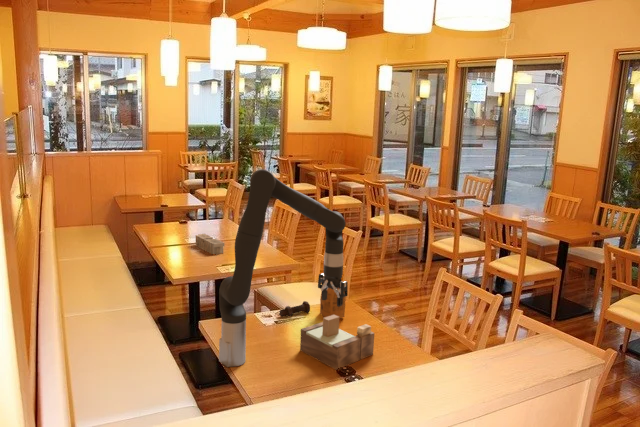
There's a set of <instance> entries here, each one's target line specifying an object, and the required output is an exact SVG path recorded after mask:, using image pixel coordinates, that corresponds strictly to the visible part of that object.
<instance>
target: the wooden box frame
mask: <svg viewBox="0 0 640 427" xmlns="http://www.w3.org/2000/svg"><path fill="white" fill-rule="evenodd" d="M322 326H323V321H322V322H318V323H315V324H313V325H309V326H305V327H303V328H300V342H299V344H300V345H299V349H300V351H301V352H303V353H305V354H306V355H308V356H310V357H311V358H314V359H315V360H316V361H319V362H321V363H323V364H324V365H327V366H329V367H330V368H332V369H333V370H339V369H341V368H340V367H342V368H344V367H346V366H349V365H351V364H353V363H356V362H358V361H361V360H362V359H365V358H367V357H370V356H372V355H374V350H375V349H374V347H375V332H373V331H371V333H370V334H367V335H365V336H360V335H358V334H356V335H354V336H355V337H353V338H350V339H347V340H345V341H342V342H339V343H336V344H334V345H333V347H331V346H329V345H327V344H325V343H323V342H321V341H319V340H317V339H315V338H313V337H311V336H309V335H307V334H306V332H307V331H310V330H313V329H316V328H319V327H322ZM338 368H339V369H338Z"/></svg>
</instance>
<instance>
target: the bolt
mask: <svg viewBox="0 0 640 427" xmlns="http://www.w3.org/2000/svg"><path fill="white" fill-rule="evenodd" d="M278 312H279V313H278V315H279V316H280V317H285V316H286V315H287V316H286V317H288V316H289V317H292V315H293V314H297V313H302V312H304V313H305V314H308V313H310V312H311V305H310V303H309V301H305V300H304V301H303V302H302V304H299V305H295V306H289V305H287V306H285V307H284V308H282V309H280V310H279V311H278Z"/></svg>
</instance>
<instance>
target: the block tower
mask: <svg viewBox="0 0 640 427" xmlns="http://www.w3.org/2000/svg"><path fill="white" fill-rule="evenodd" d="M195 246H196V247H198V248H199V249H201V250H203V251H204V250H205V252H206V251H207V253H208V252H209V253H208V254H210V253H211V255H212V254H216V255H221V254H220V253H222V254H224V247H225V242H224V241H221V240H220V239H217V238H214V237H212V236H210V235H208V234H206V233H200V234H196V235H195Z"/></svg>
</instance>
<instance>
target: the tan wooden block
mask: <svg viewBox="0 0 640 427" xmlns="http://www.w3.org/2000/svg"><path fill="white" fill-rule="evenodd" d="M371 332H372V325H369V324H367V323H365V324H362V325H360V326H357V328H356V335H360V336H365V335H367V334H370V333H371Z"/></svg>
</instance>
